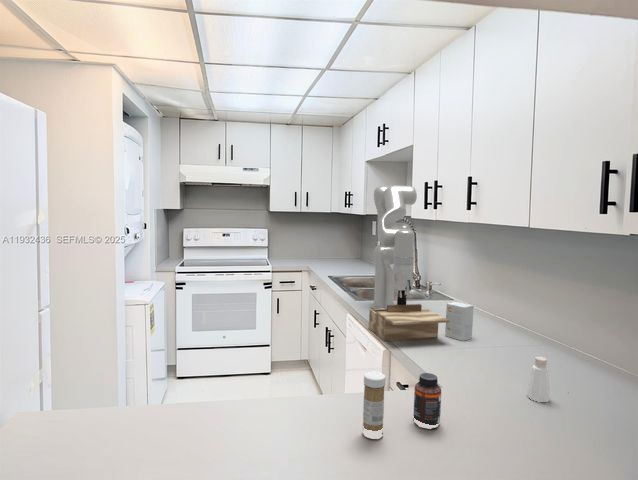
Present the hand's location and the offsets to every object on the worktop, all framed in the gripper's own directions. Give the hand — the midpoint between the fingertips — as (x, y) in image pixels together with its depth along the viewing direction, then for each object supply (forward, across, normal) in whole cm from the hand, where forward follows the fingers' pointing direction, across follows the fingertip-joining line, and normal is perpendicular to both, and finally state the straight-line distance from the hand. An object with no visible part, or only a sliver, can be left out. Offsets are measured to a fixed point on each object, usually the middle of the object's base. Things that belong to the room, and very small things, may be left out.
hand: (401, 307), depth 164 cm
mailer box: (+10, +2, 0) cm, 10 cm away
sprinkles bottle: (+11, +69, -39) cm, 80 cm away
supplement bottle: (+11, +66, -25) cm, 72 cm away
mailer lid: (+2, +9, 0) cm, 9 cm away
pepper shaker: (+11, +60, +11) cm, 62 cm away
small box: (+10, +9, +20) cm, 25 cm away
